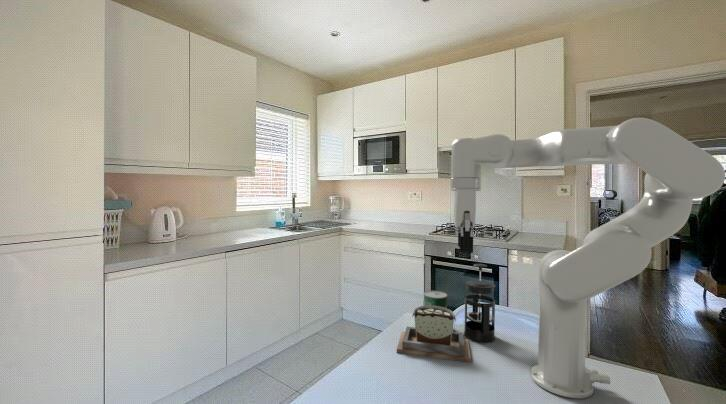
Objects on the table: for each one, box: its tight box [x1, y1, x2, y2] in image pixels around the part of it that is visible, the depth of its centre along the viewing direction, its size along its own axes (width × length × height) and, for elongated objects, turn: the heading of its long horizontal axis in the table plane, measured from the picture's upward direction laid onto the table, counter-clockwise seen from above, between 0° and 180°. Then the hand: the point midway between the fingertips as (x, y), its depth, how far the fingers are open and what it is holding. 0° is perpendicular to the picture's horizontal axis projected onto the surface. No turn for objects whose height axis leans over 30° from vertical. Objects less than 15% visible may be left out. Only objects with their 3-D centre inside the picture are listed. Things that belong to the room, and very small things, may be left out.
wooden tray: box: [396, 326, 472, 363], centre depth 92 cm, size 20×12×3 cm, turn 76°
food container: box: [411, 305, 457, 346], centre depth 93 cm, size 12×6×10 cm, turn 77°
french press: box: [463, 263, 496, 344], centre depth 99 cm, size 12×9×23 cm
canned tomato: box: [423, 290, 448, 309], centre depth 108 cm, size 8×8×11 cm
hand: (465, 249), depth 84 cm, fingers open, 9 cm apart
